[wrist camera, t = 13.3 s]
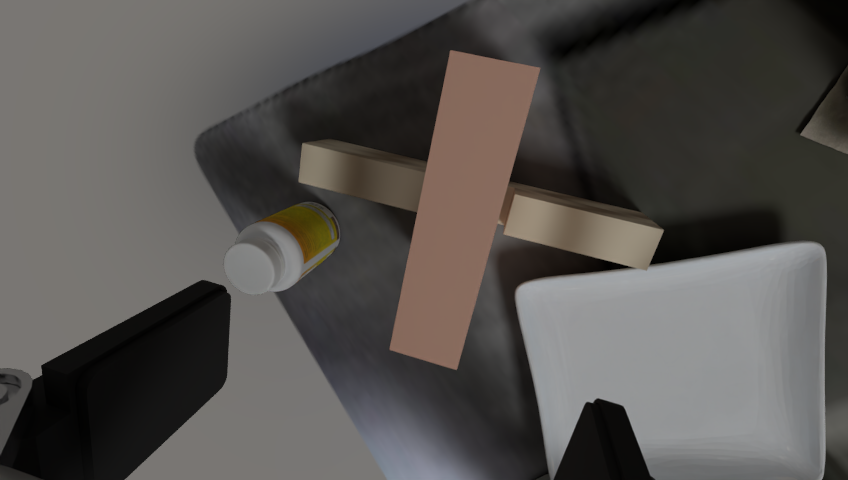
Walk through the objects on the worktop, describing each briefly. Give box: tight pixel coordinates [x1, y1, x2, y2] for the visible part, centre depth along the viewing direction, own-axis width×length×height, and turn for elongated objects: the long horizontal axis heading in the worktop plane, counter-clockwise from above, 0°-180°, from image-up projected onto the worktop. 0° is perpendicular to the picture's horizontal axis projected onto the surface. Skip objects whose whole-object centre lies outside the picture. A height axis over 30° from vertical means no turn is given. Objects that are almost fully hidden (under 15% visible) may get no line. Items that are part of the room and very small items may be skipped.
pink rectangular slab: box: [389, 50, 540, 370], centre depth 27 cm, size 16×4×14 cm, turn 168°
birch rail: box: [299, 139, 664, 271], centre depth 31 cm, size 26×3×5 cm, turn 78°
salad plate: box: [515, 241, 827, 480], centre depth 34 cm, size 21×21×3 cm
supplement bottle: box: [224, 202, 340, 295], centre depth 33 cm, size 6×6×10 cm
